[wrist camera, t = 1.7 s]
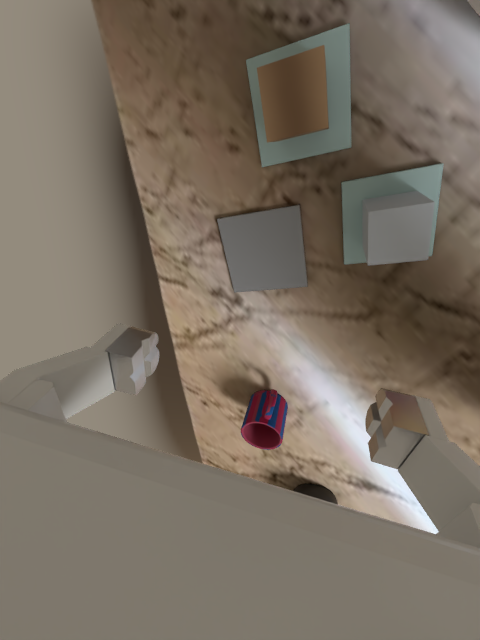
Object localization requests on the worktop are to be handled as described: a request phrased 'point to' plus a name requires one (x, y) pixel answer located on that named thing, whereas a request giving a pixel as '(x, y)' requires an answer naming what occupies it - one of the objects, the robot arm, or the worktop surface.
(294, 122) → the walnut block
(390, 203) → the blue-grey block
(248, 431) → the mug
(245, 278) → the slate coaster
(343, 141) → the code tile
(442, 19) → the worktop surface
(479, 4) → the bowl
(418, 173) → the code tile
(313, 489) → the jar
